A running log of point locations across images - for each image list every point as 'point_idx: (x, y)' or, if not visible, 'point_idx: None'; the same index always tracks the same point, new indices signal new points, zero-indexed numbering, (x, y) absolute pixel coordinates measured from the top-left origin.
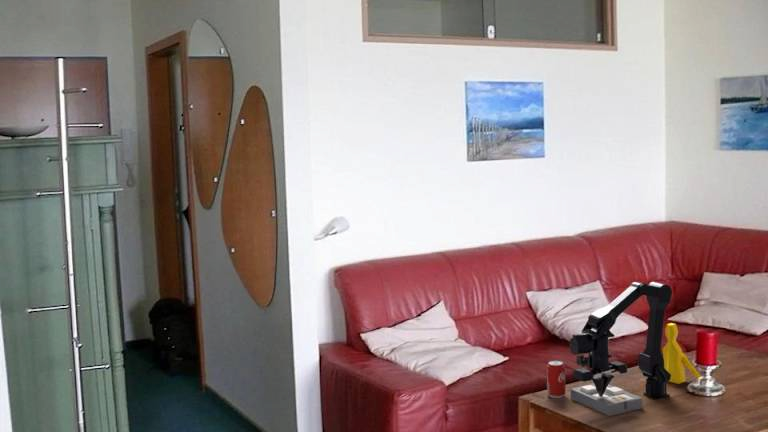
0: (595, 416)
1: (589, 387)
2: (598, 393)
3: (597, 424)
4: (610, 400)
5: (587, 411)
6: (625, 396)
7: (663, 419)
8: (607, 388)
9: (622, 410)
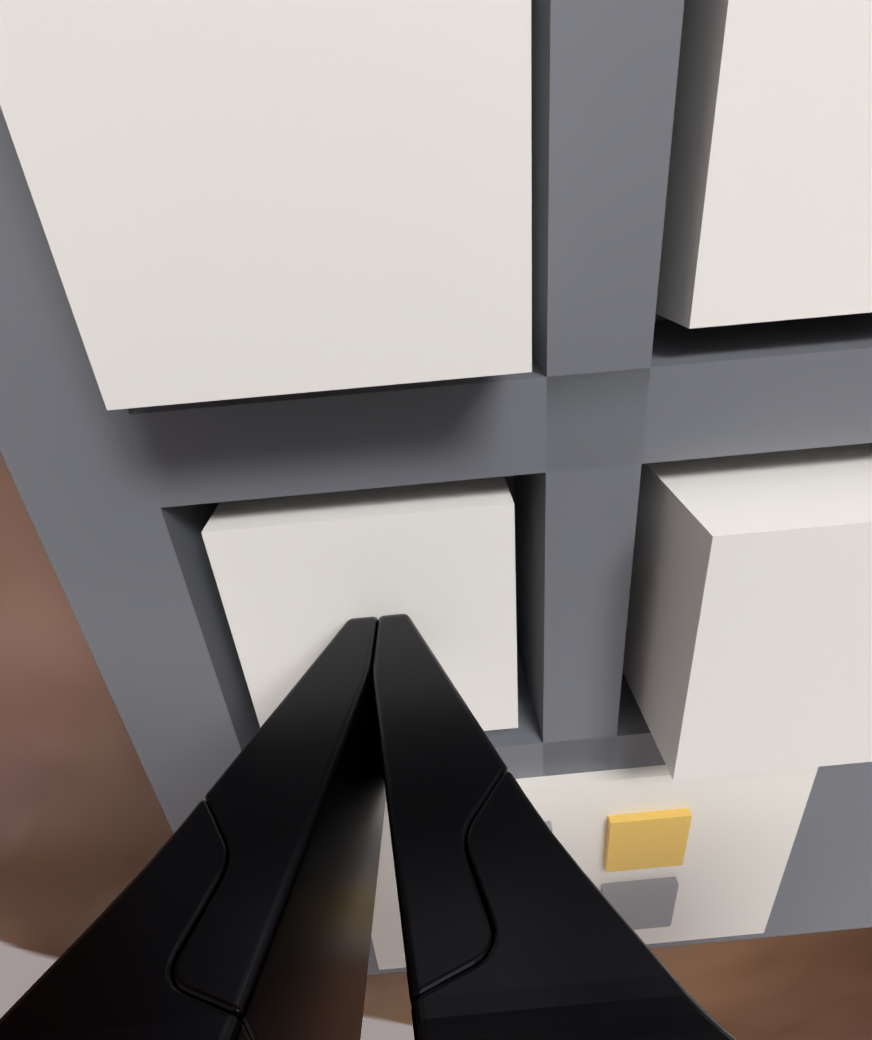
0: (105, 796)
1: (284, 157)
2: (331, 655)
3: (39, 940)
4: (380, 896)
5: (59, 635)
6: (742, 845)
7: (693, 998)
8: (755, 540)
9: None
